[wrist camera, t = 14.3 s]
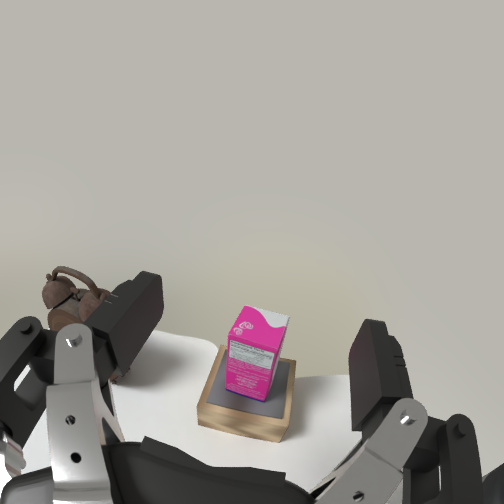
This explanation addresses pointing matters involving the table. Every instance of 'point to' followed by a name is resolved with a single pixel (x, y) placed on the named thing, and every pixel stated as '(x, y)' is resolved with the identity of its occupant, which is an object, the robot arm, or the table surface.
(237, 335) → the supplement box
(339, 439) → the table surface
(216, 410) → the pedestal
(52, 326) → the alarm clock
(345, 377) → the table surface
